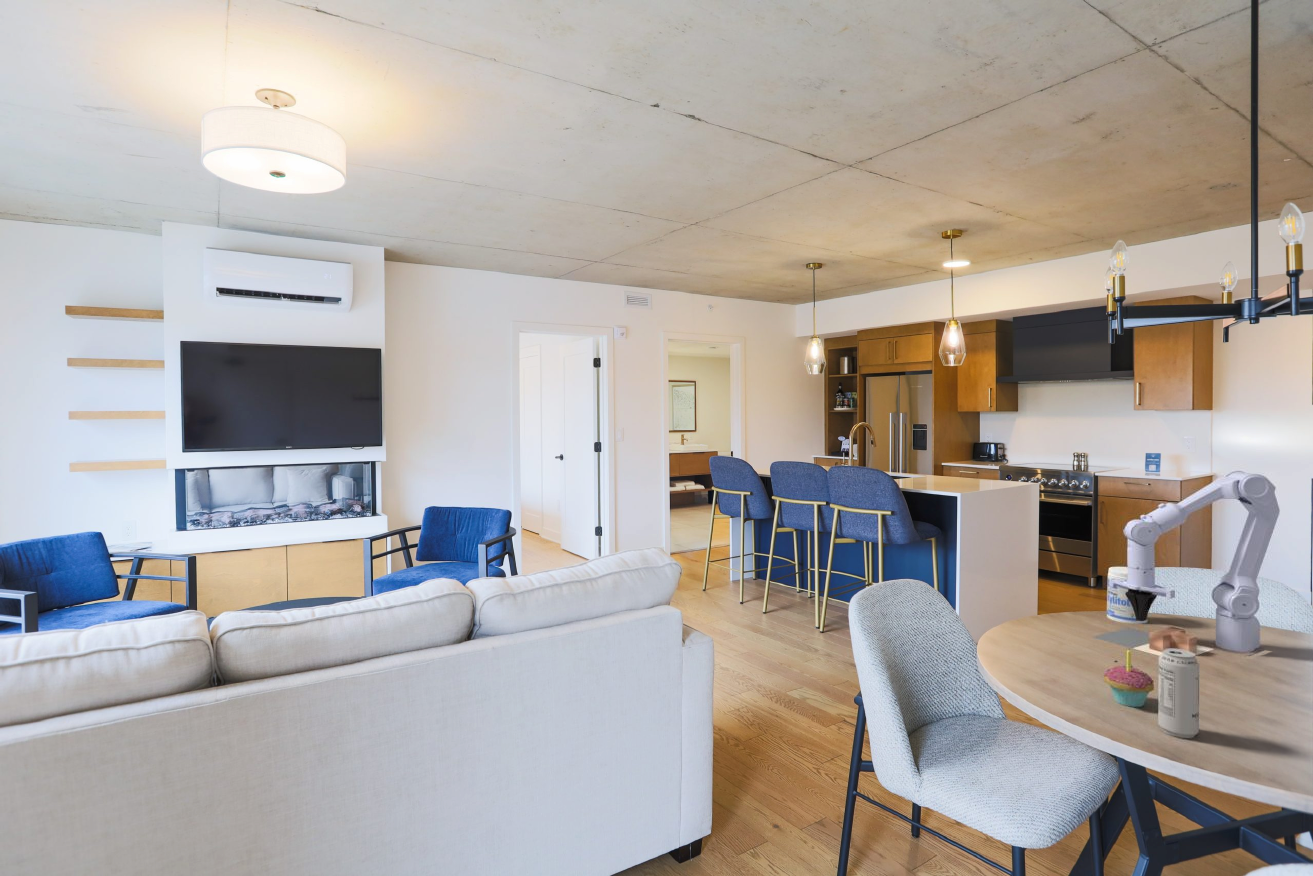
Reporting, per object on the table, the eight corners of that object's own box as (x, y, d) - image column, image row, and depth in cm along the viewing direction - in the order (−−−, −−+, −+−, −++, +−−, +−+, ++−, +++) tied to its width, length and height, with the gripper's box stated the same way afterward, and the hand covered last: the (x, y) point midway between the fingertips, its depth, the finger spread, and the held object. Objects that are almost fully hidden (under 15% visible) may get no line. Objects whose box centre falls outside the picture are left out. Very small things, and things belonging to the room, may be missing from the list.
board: (1127, 630, 186) (1127, 627, 186) (1214, 652, 168) (1214, 649, 168) (1091, 639, 179) (1091, 636, 179) (1178, 664, 161) (1178, 660, 161)
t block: (1149, 648, 169) (1149, 632, 169) (1171, 642, 174) (1171, 626, 174) (1181, 657, 163) (1181, 640, 163) (1203, 650, 168) (1204, 634, 168)
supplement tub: (1101, 621, 195) (1101, 569, 194) (1114, 614, 201) (1114, 564, 200) (1141, 629, 187) (1141, 575, 187) (1153, 622, 193) (1153, 570, 192)
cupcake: (1155, 714, 135) (1156, 654, 135) (1104, 705, 140) (1104, 647, 139) (1152, 698, 142) (1152, 641, 142) (1103, 690, 147) (1103, 635, 146)
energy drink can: (1203, 742, 124) (1204, 660, 123) (1163, 736, 126) (1163, 655, 126) (1193, 728, 129) (1193, 649, 129) (1154, 722, 132) (1154, 645, 131)
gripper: (1102, 564, 180) (1102, 615, 180) (1163, 574, 167) (1163, 630, 167) (1118, 561, 183) (1118, 611, 184) (1179, 571, 170) (1179, 625, 171)
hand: (1141, 620), depth 176 cm, fingers closed
